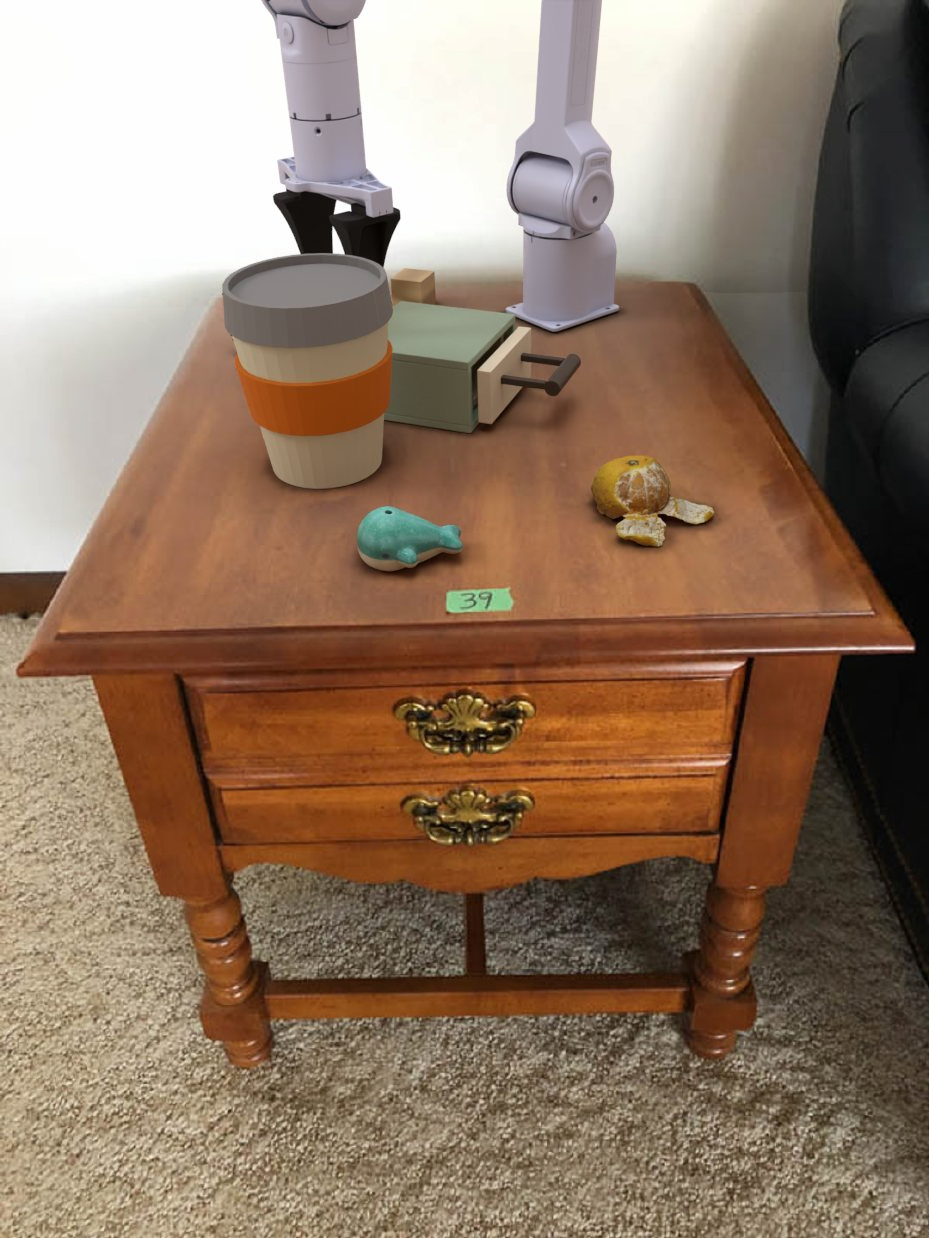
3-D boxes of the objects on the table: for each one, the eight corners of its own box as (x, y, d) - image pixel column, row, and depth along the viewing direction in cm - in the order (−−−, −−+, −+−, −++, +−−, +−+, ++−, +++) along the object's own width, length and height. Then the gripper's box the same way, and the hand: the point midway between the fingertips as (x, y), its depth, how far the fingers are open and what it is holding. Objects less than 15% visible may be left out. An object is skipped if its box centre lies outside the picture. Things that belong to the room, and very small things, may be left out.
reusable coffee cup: (256, 432, 89) (226, 257, 80) (401, 422, 90) (387, 247, 81) (244, 506, 79) (208, 315, 70) (407, 494, 80) (393, 303, 71)
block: (436, 304, 113) (434, 271, 111) (422, 315, 110) (421, 282, 108) (406, 300, 114) (404, 268, 112) (392, 311, 111) (390, 278, 109)
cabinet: (515, 381, 96) (515, 314, 92) (470, 433, 88) (468, 362, 84) (405, 365, 100) (400, 300, 96) (351, 415, 91) (343, 346, 87)
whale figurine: (360, 537, 75) (355, 491, 73) (461, 532, 75) (459, 486, 73) (357, 582, 70) (352, 535, 68) (465, 577, 70) (463, 529, 68)
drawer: (586, 384, 93) (588, 334, 90) (551, 433, 85) (552, 380, 82) (427, 363, 98) (424, 315, 95) (380, 407, 90) (376, 356, 87)
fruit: (637, 555, 72) (641, 510, 70) (561, 507, 77) (563, 463, 75) (721, 517, 76) (728, 473, 73) (643, 474, 81) (647, 431, 79)
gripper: (236, 109, 84) (261, 275, 92) (330, 136, 75) (349, 319, 83) (311, 96, 87) (329, 257, 96) (410, 121, 78) (420, 298, 86)
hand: (343, 285), depth 89 cm, fingers open, 7 cm apart
